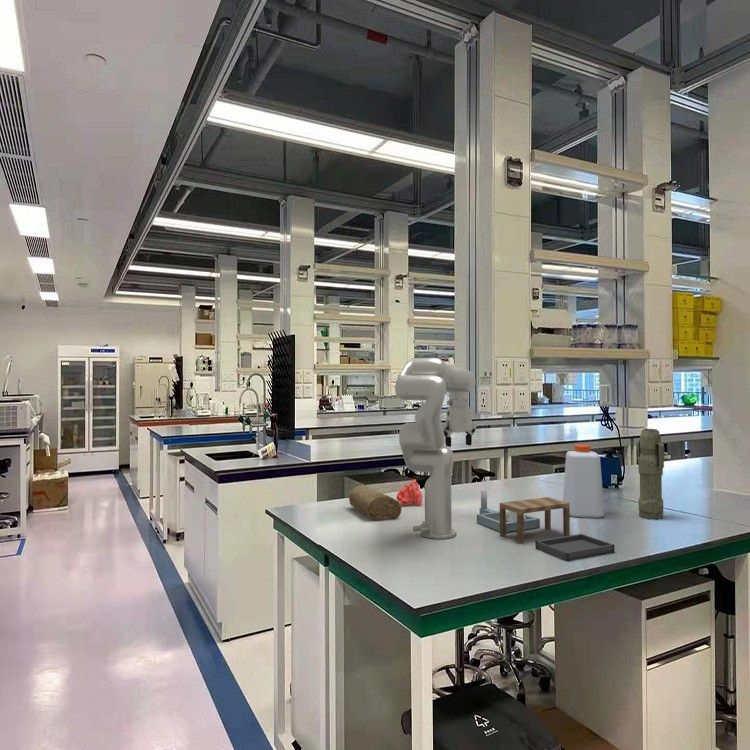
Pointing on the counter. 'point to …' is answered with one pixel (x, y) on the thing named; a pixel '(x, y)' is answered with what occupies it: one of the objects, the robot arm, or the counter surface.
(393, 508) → the core sample
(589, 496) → the plastic bottle
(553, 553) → the tray
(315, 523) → the counter surface
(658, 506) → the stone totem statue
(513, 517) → the grey rock
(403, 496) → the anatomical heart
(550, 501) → the small wooden table
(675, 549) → the counter surface
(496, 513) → the sliding frame
